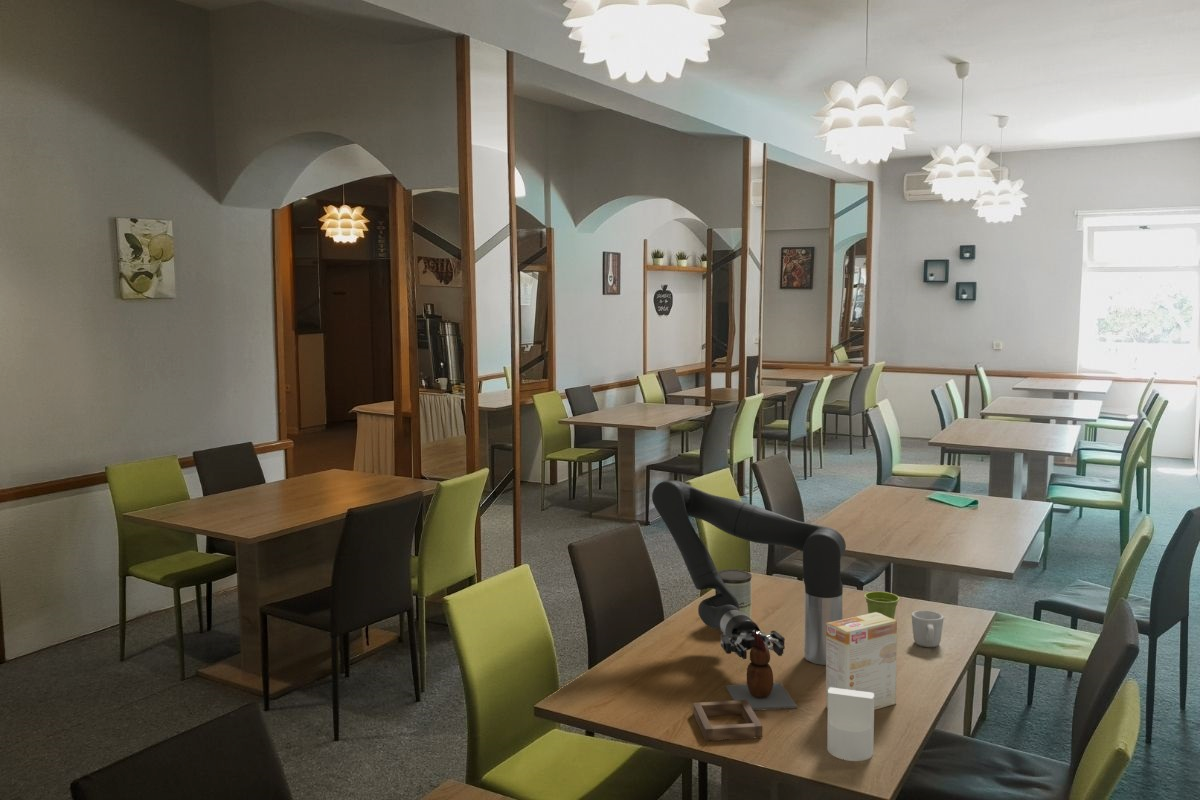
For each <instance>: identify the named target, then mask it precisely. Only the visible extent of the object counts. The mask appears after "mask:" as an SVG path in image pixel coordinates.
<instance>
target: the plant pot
mask: <svg viewBox="0 0 1200 800" xmlns="http://www.w3.org/2000/svg"><path fill="white" fill-rule="evenodd" d="M863 596H864V598H865V601H866V603H867V612H868V613H867V614H869V613H874V612H877V613H880V614H883V615H884V616H887V617H889V618H892V619H894V620H895V614H896V609H897V606H898V602H900V597H899V596H898V595H897V594H895V593H891V592H888V591H869V592H867V593H864V595H863Z"/></svg>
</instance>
